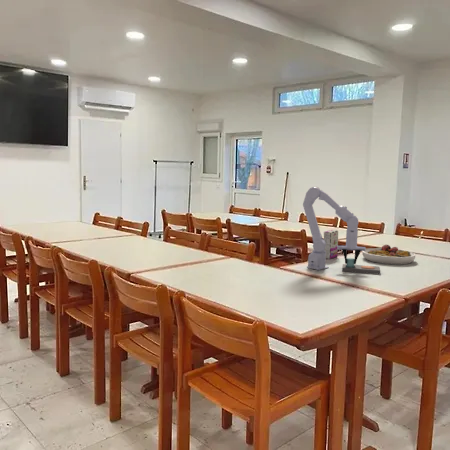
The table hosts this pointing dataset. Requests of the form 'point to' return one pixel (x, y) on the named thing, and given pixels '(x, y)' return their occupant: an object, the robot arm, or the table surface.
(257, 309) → the table surface
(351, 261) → the plug
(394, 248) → the bowl
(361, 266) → the orange disc
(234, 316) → the table surface
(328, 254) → the candy bar box
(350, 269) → the board with square hole
